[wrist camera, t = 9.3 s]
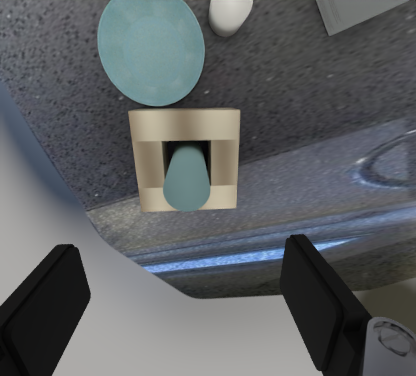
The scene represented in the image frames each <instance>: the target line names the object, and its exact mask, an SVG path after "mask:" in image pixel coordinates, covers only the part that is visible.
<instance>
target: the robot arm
mask: <svg viewBox="0 0 416 376" xmlns="http://www.w3.org/2000/svg"><path fill="white" fill-rule="evenodd" d="M280 289H281V292H282V294H283V296H284V299H285V301H286V303H287V305H288V307H289V309H290V312H291V314H292V316H293V318H294V321H295V323H296V325H297V327H298V330H299V332H300V334H301V336H302V339H303V341H304V343H305V345H306V347H307V350H308V352H309V354H310V356H311V359H312V361H313V363H314V365H315V367H316V369H317V370H318V371H322V374H323V376H416V335H415V334H414V333H413V332H412V331H411V330H409V329H408V328H407V327H405V326H404V325H402V324H400V323H398V322H396V321H394V320H391V319H388V318H384V317H375V318H372V316H371V315H370V314H369V313H368V311H367V310H366V309H365V308H364V306H363V305H362V304H361V303H360V302H359V300H358V299H357V298H356V297H355V295H354V294H353V293H352V292H351V290H350V289H349V288H348V287H347V285H346V284H345V283H344V282H343V280H342V279H341V278H340V277H339V275H338V274H337V273H336V272H335V271H334V269H333V268H332V267H331V266H330V265H329V264H328V263H327V262H326V260H325V259H324V258H323V257H322V256H321V254H320V253H319V252H318V251H317V249H316V248H315V247H314V246H313V244H312V243H311V242H310V241H309V239H308V238H307V237H306V236H305V235H304V234H298V235H291V236H290V238H287V239H286V244H285V251H284V257H283V264H282V270H281V277H280ZM90 295H91V293H90V289H89V285H88V282H87V278H86V274H85V271H84V267H83V264H82V260H81V257H80V253H79V250H78V248H77V247H74V245H73V244H61V245H57V246H55V247H54V248H53V249H52V250H51V252H50V253H49V254H48V255H47V256H46V257H45V258H44V259H43V260H42V261H41V262H40V264H39V265H38V266H37V267H36V268H35V269H34V270H33V271H32V272H31V273H30V275H29V276H28V277H27V278H26V279H25V280H24V281H23V282H22V283H21V284H20V285H19V287H18V288H17V289H16V290H15V291H14V292H13V293H12V294H11V295H10V296H9V297H8V298H7V300H6V301H5V302H4V303H3V304H2V305H1V306H0V376H52V374H53V372H54V370H55V368H56V366H57V364H58V362H59V360H60V358H61V356H62V354H63V352H64V350H65V348H66V346H67V345H68V343H69V340H70V339H71V336H72V335H73V333H74V331H75V329H76V327H77V325H78V322H79V321H80V319H81V317H82V315H83V313H84V311H85V309H86V307H87V305H88V303H89V301H90Z"/></svg>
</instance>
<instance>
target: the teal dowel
mask: <svg viewBox="0 0 416 376" xmlns="http://www.w3.org/2000/svg"><path fill="white" fill-rule="evenodd" d="M163 195H164V197H165V200H166V201H167V203H168V204H169V205H170V206H172V207H173V208H175V209H177V210H179V211H185V212H189V211H194V210H197V209H199V208H201V207H202V206H203V205H204V204H205V203H206V202H207V200H208V199H209V196H210V183H209V179H208V174H207V169H206V165H205V160H204V155H203V151H202V147H201V145H200V144H199V143H198V142H197V141H196V140H187V141H180V142H179V143H178V144H177V145H176V147H175V150H174V153H173V156H172V159H171V162H170V166H169V169H168V172H167V175H166V178H165V181H164V185H163Z"/></svg>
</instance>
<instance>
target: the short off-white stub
mask: <svg viewBox="0 0 416 376" xmlns="http://www.w3.org/2000/svg"><path fill="white" fill-rule="evenodd" d="M252 4H253V0H211V3H210V8H209V13H208V20H209V24H210V27H211V29H212V30H213V32H214V33H216V34H217V35H218V36H221V37H229V36H232V35H233V34H235V33H236V32H237V31H238V29H239V28H240V26H241V25H242V23H243V22H244V21H245V19H246V18H247V16H248V15H249V13H250V11H251V8H252Z"/></svg>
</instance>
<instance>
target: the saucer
mask: <svg viewBox="0 0 416 376" xmlns="http://www.w3.org/2000/svg"><path fill="white" fill-rule="evenodd" d="M97 40H98V50H99V55H100V59H101V62H102V65H103V67H104V69H105V71H106V73H107V75H108V77H109V78H110V80H111V81H112V82H113V84H114V85H115V86H116V87H117V89H119V90H120V91H121V92H122V93H123V94H125V95H126V96H127V97H129V98H130V99H132V100H134V101H136V102H139V103H141V104H145V105H149V106H164V105H169V104H172V103H174V102H177V101H179V100H180V99H182V98H183V97H185V96H186V95H187V94H188V93H189V92H190V91H191V90H192V89H193V88H194V86H195V85H196V83H197V81H198V80H199V77H200V75H201V72H202V69H203V64H204V59H205V58H204V56H205V45H204V39H203V35H202V31H201V28H200V25H199V23H198V21H197V19H196V17H195V15H194V14H193V12H192V10H191V9H190V8H189V6H188V5H187V4H186V2H184V1H183V0H111V1H110V2H109V3H108V5H107V6H106V8H105V9H104V11H103V13H102V16H101V19H100V22H99V27H98V36H97Z"/></svg>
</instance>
